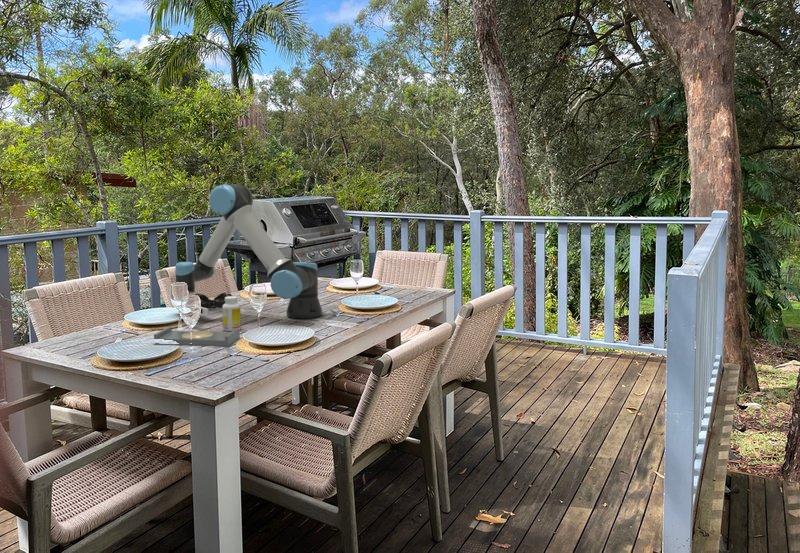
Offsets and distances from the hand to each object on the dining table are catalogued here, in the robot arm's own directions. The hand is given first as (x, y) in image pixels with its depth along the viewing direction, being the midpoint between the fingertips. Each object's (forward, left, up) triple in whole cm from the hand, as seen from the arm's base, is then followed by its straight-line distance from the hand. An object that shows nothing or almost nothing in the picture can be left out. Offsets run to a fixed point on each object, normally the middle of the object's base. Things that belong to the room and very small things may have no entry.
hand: (223, 310), depth 252 cm
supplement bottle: (-4, +3, -7) cm, 9 cm away
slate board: (+2, +21, -7) cm, 22 cm away
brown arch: (+13, -37, -7) cm, 39 cm away
